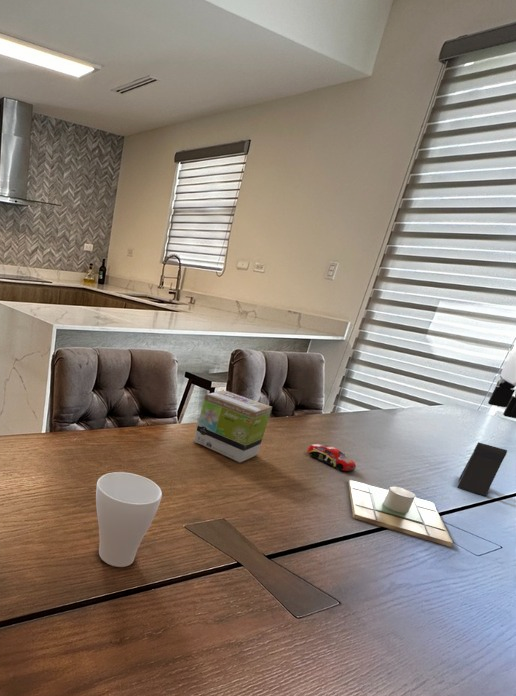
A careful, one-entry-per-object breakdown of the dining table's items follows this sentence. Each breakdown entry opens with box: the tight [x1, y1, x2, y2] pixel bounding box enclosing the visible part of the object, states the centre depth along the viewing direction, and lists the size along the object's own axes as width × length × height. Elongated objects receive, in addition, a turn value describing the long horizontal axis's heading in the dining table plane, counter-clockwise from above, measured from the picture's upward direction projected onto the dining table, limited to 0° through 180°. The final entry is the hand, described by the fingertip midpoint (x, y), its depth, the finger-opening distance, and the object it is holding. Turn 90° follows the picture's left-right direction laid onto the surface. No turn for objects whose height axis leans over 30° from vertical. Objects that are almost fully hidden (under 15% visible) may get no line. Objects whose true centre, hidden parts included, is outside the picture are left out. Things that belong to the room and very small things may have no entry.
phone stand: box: [457, 442, 508, 497], centre depth 124 cm, size 9×6×12 cm, turn 138°
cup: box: [95, 471, 163, 568], centre depth 78 cm, size 10×10×14 cm
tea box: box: [193, 389, 273, 464], centre depth 128 cm, size 15×10×15 cm
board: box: [347, 479, 454, 548], centre depth 108 cm, size 18×20×1 cm
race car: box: [306, 443, 357, 472], centre depth 130 cm, size 13×5×4 cm, turn 26°
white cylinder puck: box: [383, 486, 416, 513], centre depth 107 cm, size 5×5×4 cm
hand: (504, 411), depth 98 cm, fingers open, 9 cm apart
